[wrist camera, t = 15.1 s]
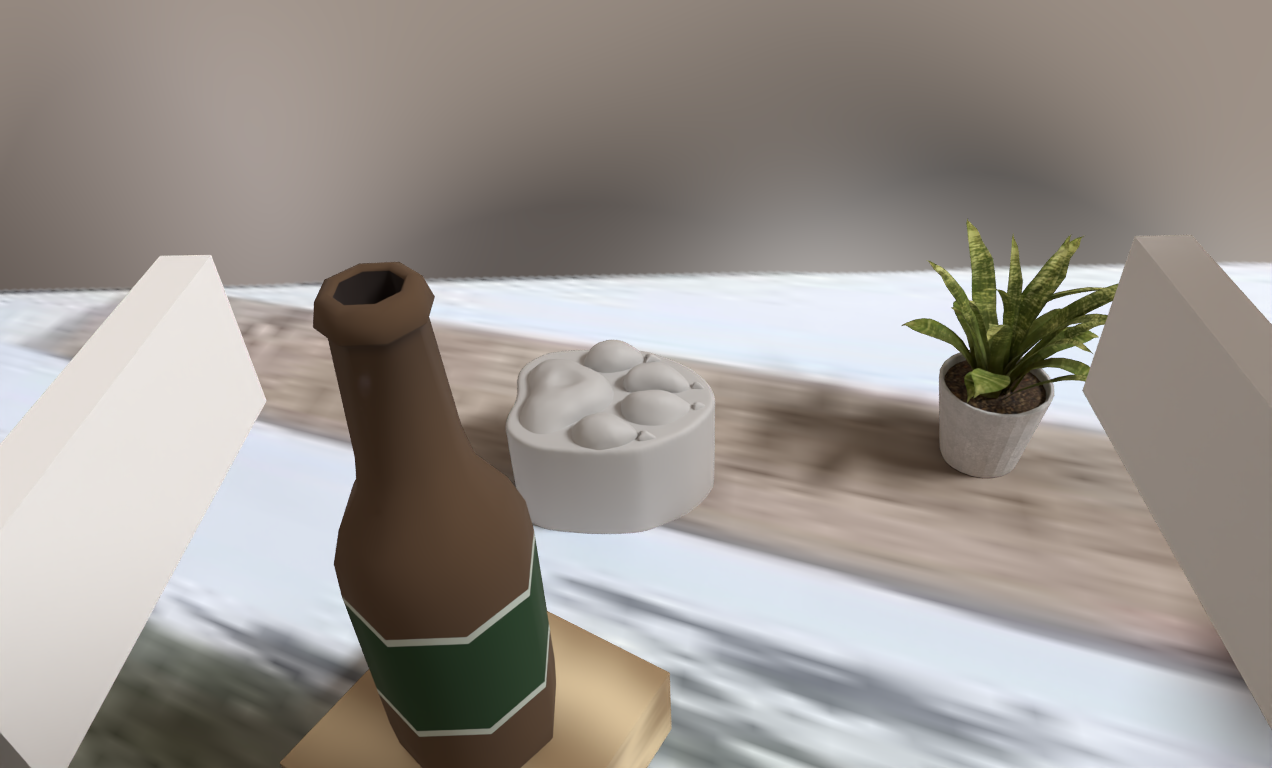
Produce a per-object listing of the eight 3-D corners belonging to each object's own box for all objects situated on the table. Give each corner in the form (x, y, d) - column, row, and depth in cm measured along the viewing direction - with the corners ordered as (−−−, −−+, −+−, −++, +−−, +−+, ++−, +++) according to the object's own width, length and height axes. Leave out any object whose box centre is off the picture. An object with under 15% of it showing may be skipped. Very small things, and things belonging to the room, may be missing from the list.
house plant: (1083, 573, 54) (1173, 353, 44) (854, 506, 59) (887, 294, 49) (1102, 427, 64) (1178, 220, 54) (904, 380, 69) (940, 182, 59)
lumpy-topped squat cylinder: (535, 426, 67) (521, 329, 62) (713, 428, 66) (715, 330, 61) (512, 533, 59) (493, 432, 54) (714, 536, 58) (716, 434, 53)
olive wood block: (477, 625, 53) (464, 569, 50) (671, 729, 48) (669, 673, 45) (308, 816, 45) (279, 762, 42) (519, 969, 39) (504, 920, 36)
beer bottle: (364, 762, 42) (177, 329, 27) (452, 628, 47) (339, 208, 32) (516, 822, 39) (406, 383, 24) (590, 673, 45) (536, 242, 30)
